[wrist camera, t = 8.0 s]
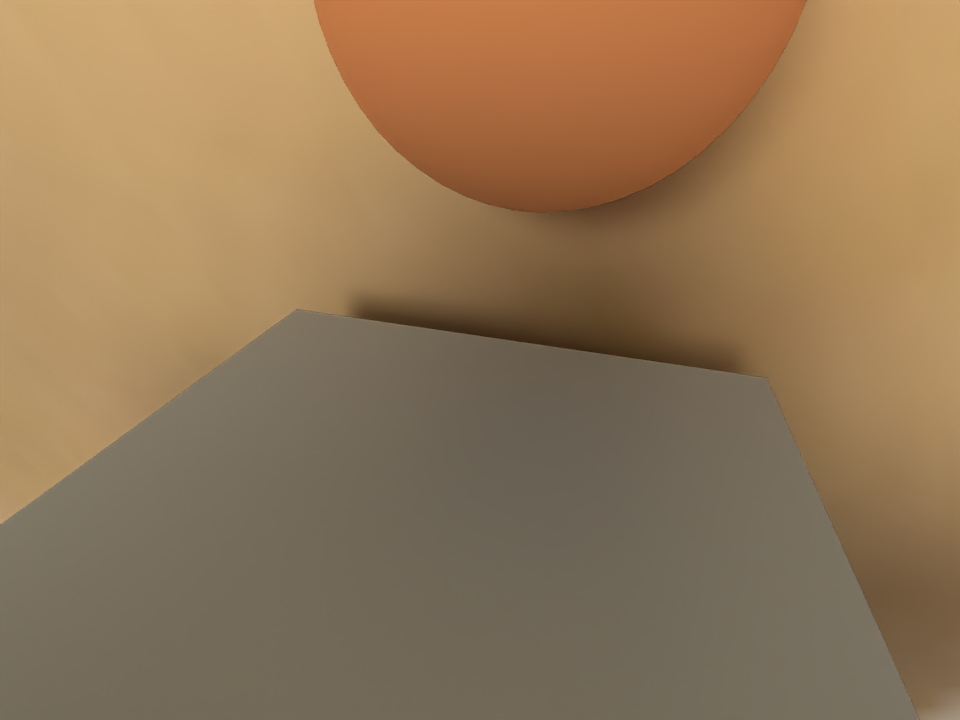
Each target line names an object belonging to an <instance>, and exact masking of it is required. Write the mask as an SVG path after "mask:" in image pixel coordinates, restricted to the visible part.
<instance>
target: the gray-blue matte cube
mask: <svg viewBox="0 0 960 720" xmlns="http://www.w3.org/2000/svg"><path fill="white" fill-rule="evenodd" d="M0 720H920V719H919V717H918V715H917V713H916V710H915V708H914V706H913V704H912V701H911V699H910V697H909V695H908V693H907V690H906V688H905V686H904V684H903V681H902V679H901V677H900V675H899V672H898V670H897V668H896V666H895V664H894V661H893V659H892V657H891V655H890V652H889V650H888V648H887V646H886V643H885V641H884V639H883V637H882V635H881V632H880V630H879V628H878V626H877V623H876V621H875V619H874V617H873V614H872V612H871V610H870V608H869V606H868V603H867V601H866V599H865V597H864V594H863V592H862V590H861V588H860V585H859V583H858V581H857V579H856V576H855V574H854V572H853V570H852V568H851V565H850V563H849V561H848V559H847V556H846V554H845V552H844V550H843V547H842V545H841V543H840V541H839V539H838V536H837V534H836V532H835V530H834V527H833V525H832V523H831V521H830V518H829V516H828V514H827V512H826V510H825V507H824V505H823V503H822V501H821V498H820V496H819V494H818V492H817V489H816V487H815V485H814V483H813V481H812V478H811V476H810V474H809V472H808V469H807V467H806V465H805V463H804V460H803V458H802V456H801V454H800V452H799V449H798V447H797V445H796V443H795V440H794V438H793V436H792V434H791V431H790V429H789V427H788V425H787V423H786V420H785V418H784V416H783V414H782V411H781V409H780V407H779V405H778V402H777V400H776V398H775V396H774V394H773V391H772V389H771V387H770V385H769V382H768V380H767V378H765V377H758V376H751V375H744V374H738V373H731V372H724V371H717V370H710V369H703V368H696V367H690V366H683V365H676V364H669V363H662V362H655V361H648V360H642V359H635V358H628V357H621V356H614V355H607V354H600V353H594V352H587V351H580V350H573V349H566V348H559V347H552V346H546V345H539V344H532V343H525V342H518V341H511V340H504V339H498V338H491V337H484V336H477V335H470V334H463V333H456V332H450V331H443V330H436V329H429V328H422V327H415V326H408V325H402V324H395V323H388V322H381V321H374V320H367V319H361V318H354V317H347V316H340V315H333V314H326V313H319V312H313V311H306V310H299V309H296V310H295V311H294V312H292V313H291V314H289V315H288V316H287V317H285V318H284V319H283V320H281V321H280V322H278V323H277V324H276V325H274V326H273V327H272V328H270V329H269V330H267V331H266V332H265V333H263V334H262V335H261V336H259V337H258V338H256V339H255V340H254V341H252V342H251V343H250V344H248V345H247V346H246V347H244V348H243V349H241V350H240V351H239V352H237V353H236V354H235V355H233V356H232V357H230V358H229V359H228V360H226V361H225V362H224V363H222V364H221V365H219V366H218V367H217V368H215V369H214V370H213V371H211V372H210V373H208V374H207V375H206V376H204V377H203V378H202V379H200V380H199V381H197V382H196V383H195V384H193V385H192V386H191V387H189V388H188V389H186V390H185V391H184V392H182V393H181V394H180V395H178V396H177V397H175V398H174V399H173V400H171V401H170V402H169V403H167V404H166V405H164V406H163V407H162V408H160V409H159V410H158V411H156V412H155V413H153V414H152V415H151V416H149V417H148V418H147V419H145V420H144V421H142V422H141V423H140V424H138V425H137V426H136V427H134V428H133V429H131V430H130V431H129V432H127V433H126V434H125V435H123V436H122V437H120V438H119V439H118V440H116V441H115V442H114V443H112V444H111V445H109V446H108V447H107V448H105V449H104V450H103V451H101V452H100V453H98V454H97V455H96V456H94V457H93V458H92V459H90V460H89V461H88V462H86V463H85V464H83V465H82V466H81V467H79V468H78V469H77V470H75V471H74V472H72V473H71V474H70V475H68V476H67V477H66V478H64V479H63V480H61V481H60V482H59V483H57V484H56V485H55V486H53V487H52V488H50V489H49V490H48V491H46V492H45V493H44V494H42V495H41V496H39V497H38V498H37V499H35V500H34V501H33V502H31V503H30V504H28V505H27V506H26V507H24V508H23V509H22V510H20V511H19V512H17V513H16V514H15V515H13V516H12V517H11V518H9V519H8V520H6V521H5V522H4V523H2V524H1V525H0Z"/></svg>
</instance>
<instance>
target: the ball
mask: <svg viewBox="0 0 960 720" xmlns="http://www.w3.org/2000/svg"><path fill="white" fill-rule="evenodd" d="M806 1H807V0H314V4H315V8H316V11H317V15H318V19H319V23H320V26H321V28H322V31H323V34H324V37H325V39H326V42H327V45H328V48H329V50H330V53H331V55H332V57H333V59H334V61H335V64H336V66H337V68H338V70H339V72H340V74H341V76H342V78H343V80H344V82H345V84H346V86H347V87H348V89H349V91H350V92H351V94H352V95H353V97H354V99H355V100H356V102H357V104H358V105H359V107H360V108H361V110H362V111H363V112H364V114H365V115H366V116H367V118H368V119H369V120H370V122H371V123H372V124H373V126H374V127H375V128H376V129H377V131H378V132H379V133H380V134H381V135H382V136H383V137H384V138H385V139H386V140H387V141H388V142H389V143H390V144H391V146H392V147H393V148H394V149H395V150H396V151H397V152H399V153H400V154H401V155H402V156H403V157H404V158H406V159H407V160H408V161H409V162H410V163H412V164H413V165H414V166H415V167H416V168H418V169H419V170H421V171H422V172H424V173H425V174H427V175H428V176H430V177H431V178H433V179H434V180H436V181H437V182H439V183H440V184H442V185H444V186H446V187H448V188H450V189H452V190H454V191H456V192H458V193H460V194H462V195H464V196H466V197H469V198H472V199H474V200H477V201H480V202H483V203H486V204H488V205H493V206H497V207H502V208H506V209H511V210H518V211H529V212H565V211H572V210H578V209H584V208H590V207H594V206H598V205H601V204H605V203H608V202H611V201H615V200H618V199H621V198H623V197H626V196H628V195H630V194H633V193H635V192H637V191H640V190H642V189H644V188H647V187H649V186H651V185H652V184H654V183H656V182H658V181H659V180H661V179H663V178H665V177H666V176H668V175H670V174H672V173H673V172H675V171H677V170H678V169H679V168H681V167H682V166H683V165H685V164H686V163H687V162H689V161H690V160H691V159H693V158H694V157H696V156H697V155H698V154H700V153H701V152H702V151H703V150H704V149H705V148H706V147H708V146H709V145H710V144H711V143H712V142H713V141H714V140H715V139H716V138H717V137H718V136H719V135H721V134H722V133H723V132H724V131H725V130H726V129H727V128H728V127H729V126H730V124H731V123H732V122H733V121H734V120H735V119H736V118H737V116H738V115H739V114H740V113H741V112H742V111H743V109H744V108H745V107H746V106H747V105H748V104H749V103H750V101H751V100H752V99H753V97H754V96H755V94H756V93H757V91H758V90H759V89H760V87H761V86H762V84H763V83H764V81H765V80H766V79H767V77H768V76H769V74H770V73H771V71H772V70H773V68H774V66H775V65H776V63H777V61H778V59H779V57H780V56H781V54H782V52H783V50H784V48H785V47H786V45H787V43H788V41H789V39H790V37H791V36H792V34H793V32H794V29H795V27H796V25H797V22H798V20H799V17H800V15H801V13H802V10H803V8H804V6H805V3H806Z"/></svg>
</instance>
